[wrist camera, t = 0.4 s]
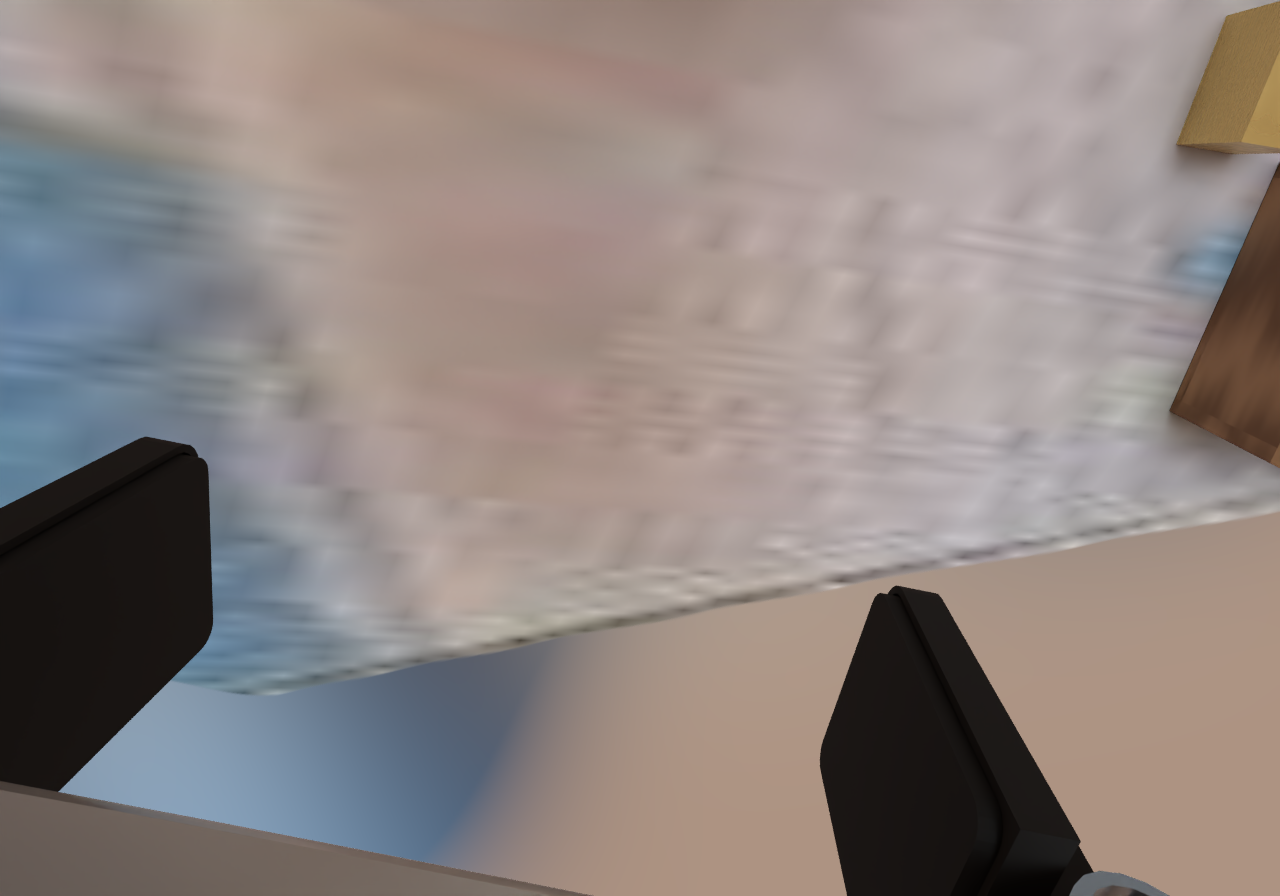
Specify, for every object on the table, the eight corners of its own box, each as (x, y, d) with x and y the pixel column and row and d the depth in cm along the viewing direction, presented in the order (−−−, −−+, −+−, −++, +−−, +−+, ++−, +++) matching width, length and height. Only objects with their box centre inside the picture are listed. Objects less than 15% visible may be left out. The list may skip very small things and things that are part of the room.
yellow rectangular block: (1226, 15, 37) (1303, -6, 32) (1285, 25, 37) (1371, 6, 32) (1175, 144, 39) (1241, 141, 34) (1231, 153, 39) (1304, 152, 34)
